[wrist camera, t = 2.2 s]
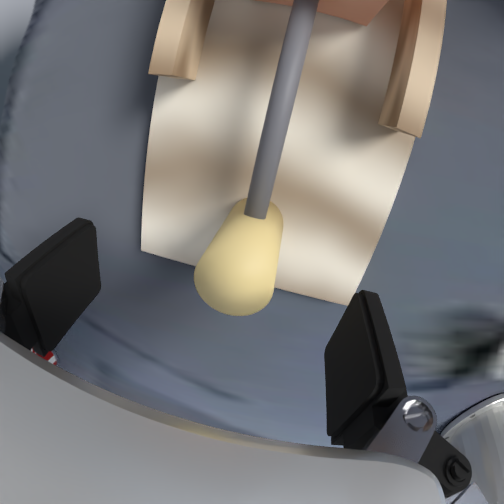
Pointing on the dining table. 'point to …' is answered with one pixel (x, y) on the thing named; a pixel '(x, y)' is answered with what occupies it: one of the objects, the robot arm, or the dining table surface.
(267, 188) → the toy mallet
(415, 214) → the dining table surface
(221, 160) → the shelf lane
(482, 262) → the dining table surface
